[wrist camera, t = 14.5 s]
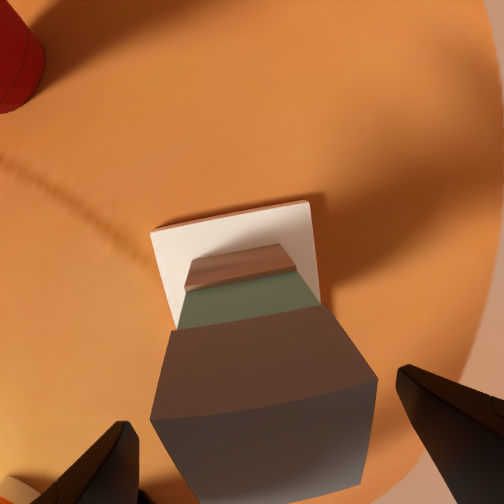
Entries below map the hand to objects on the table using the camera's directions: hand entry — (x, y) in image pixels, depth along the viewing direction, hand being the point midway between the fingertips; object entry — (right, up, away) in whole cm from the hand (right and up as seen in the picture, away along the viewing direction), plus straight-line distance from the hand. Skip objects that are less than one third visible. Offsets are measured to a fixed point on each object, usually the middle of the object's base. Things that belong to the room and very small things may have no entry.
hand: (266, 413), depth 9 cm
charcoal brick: (0, +1, +2) cm, 2 cm away
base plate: (-1, +3, +10) cm, 11 cm away
